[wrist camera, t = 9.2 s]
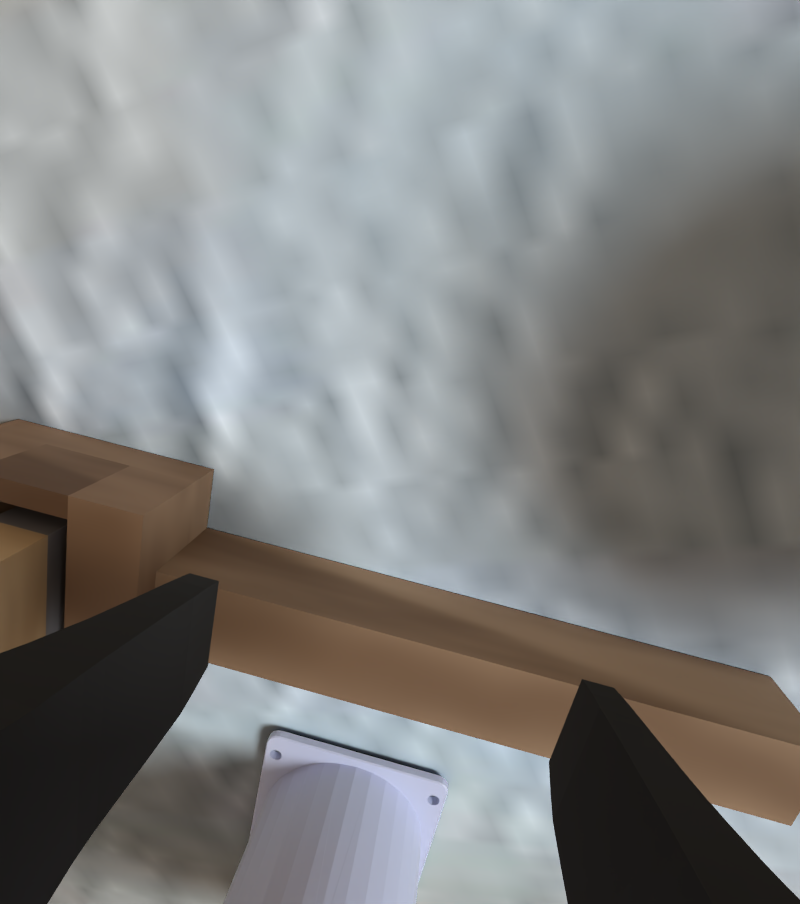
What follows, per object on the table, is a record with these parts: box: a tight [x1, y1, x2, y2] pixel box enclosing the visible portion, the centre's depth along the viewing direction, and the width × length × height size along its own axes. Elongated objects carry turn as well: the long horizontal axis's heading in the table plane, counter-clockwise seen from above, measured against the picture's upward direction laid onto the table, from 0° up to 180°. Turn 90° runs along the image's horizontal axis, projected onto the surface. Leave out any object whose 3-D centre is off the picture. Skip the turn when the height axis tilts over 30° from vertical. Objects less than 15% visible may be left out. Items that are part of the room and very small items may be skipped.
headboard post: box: [0, 419, 800, 826], centre depth 18 cm, size 8×30×4 cm, turn 78°
